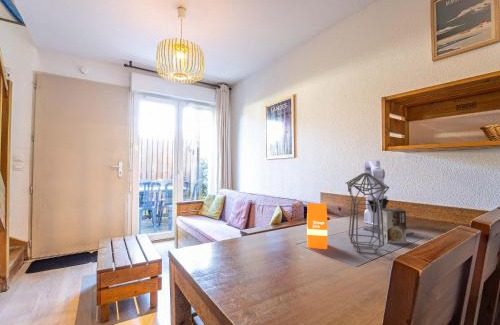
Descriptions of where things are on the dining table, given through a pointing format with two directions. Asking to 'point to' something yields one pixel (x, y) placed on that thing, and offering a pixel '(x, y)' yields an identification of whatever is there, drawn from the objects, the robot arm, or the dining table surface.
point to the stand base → (381, 230)
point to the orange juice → (316, 226)
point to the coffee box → (394, 225)
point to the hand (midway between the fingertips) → (378, 211)
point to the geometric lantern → (366, 204)
